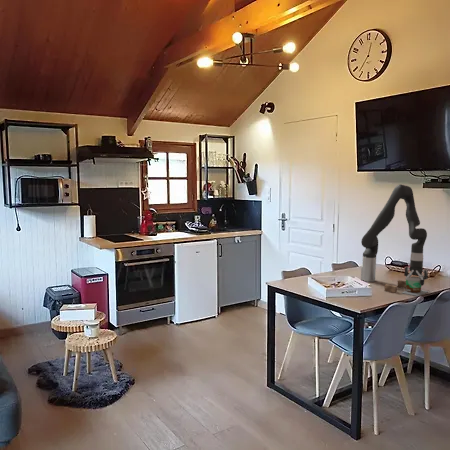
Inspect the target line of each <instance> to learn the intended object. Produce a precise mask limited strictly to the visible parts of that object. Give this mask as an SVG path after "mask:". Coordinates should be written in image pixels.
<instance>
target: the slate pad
mask: <svg viewBox="0 0 450 450" xmlns="http://www.w3.org/2000/svg"><path fill="white" fill-rule="evenodd" d="M427 293H429V290H423V289H421V292H420V293H411V292H407V291H406V290H404V291H402V292H401V295H402V294H404V295H407V296H411V297H419V296H423V295H424V294H427Z"/></svg>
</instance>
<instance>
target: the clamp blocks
mask: <svg viewBox="0 0 450 450" xmlns="http://www.w3.org/2000/svg"><path fill="white" fill-rule="evenodd" d="M398 287H399V288H402V289H406V280H399V279H398V280H397V285H394V284H389V283H387V284H384V292H387V293H393V294H396V293H397V292H398Z"/></svg>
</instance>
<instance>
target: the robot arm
mask: <svg viewBox="0 0 450 450" xmlns="http://www.w3.org/2000/svg"><path fill="white" fill-rule="evenodd" d="M414 197H415V196H414V191H413V189H412V187H411V186H408V185H404V184H398V185H396V186H395V187H394V189H393V191H392V192H391V194H390V196H389V197H388V200H387V201H386V203H385V204H384V207H383V208H382V209H381V211H379V214H378V215H377V217H376V218H375V220H374V222H373V223H372V225H371V226H370V227H369V229H368V230H367V232H366V233H365V234H364V235H363V236H362V238H361V246H362V247H363V248H365V250H364V251H363V252H362V265H361V266H360V267H361V268H360V281H363V280H364V281H363V282H366V283H367V282H368V283H369V282H370V283H372V282H373V283H374V282H376V272H377V271H376V269H377V254H378V252H379V239H378V236H379V235H380V234H381V233H382V232H383V230H384V229H386V228H387V227H388V226H389V225H390V223H391V222H392V220H393V219H394V217H395V213H396V212H395V211H396V206H397V205H398V202H399V201H400V200H404V203H405V206H406V210H405V218H406V221H407V223H408V224H407V225H408V236H409V238H410V239H412V240H415V241H416V240H417V241H416V242H414V243H411V246H410V247H411V251H410V257H409V259H410V261H409V263H410V264H409V266H405V267H404V274H403V275H404V277H406V276H407V277H412V275H413V276H416V277H420V278H421V279H422V280H421V287H423V286H424V285H425V281H426V280H428V276H429V275H428V273H429V272H428V271H429V270H428V269H424V268H423V265H424V246H425V243H426V240H427V237H428V232H427V230H426V229H425V228H420V227H419V226H420V224H421V221H420V219H419V214H418V212H417V208H416V204H415V198H414ZM417 227H419V228H417ZM409 271H410V272H409Z"/></svg>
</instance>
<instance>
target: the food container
mask: <svg viewBox="0 0 450 450" xmlns="http://www.w3.org/2000/svg"><path fill="white" fill-rule="evenodd" d="M421 280H422V279H421V278H420V277H419V276H410V277H407V276H405V279H404V281H406V288H405V289H406V290H405V291H407V292H411V293H420V292H421V290H422V286H421Z"/></svg>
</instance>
